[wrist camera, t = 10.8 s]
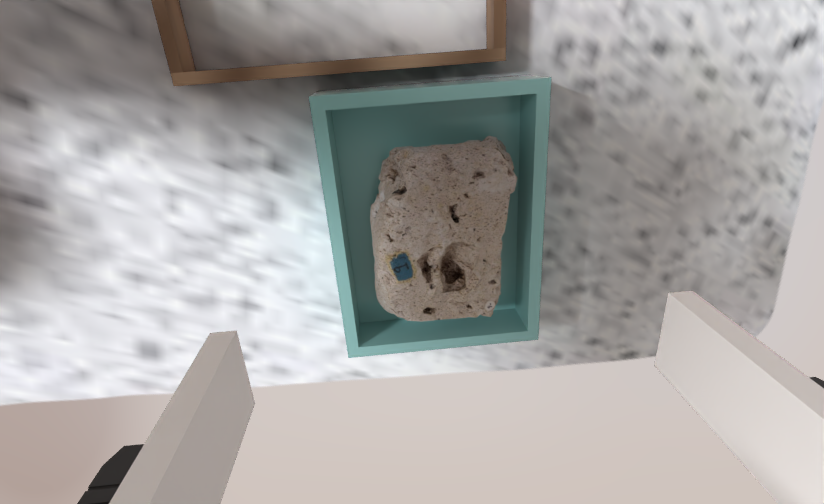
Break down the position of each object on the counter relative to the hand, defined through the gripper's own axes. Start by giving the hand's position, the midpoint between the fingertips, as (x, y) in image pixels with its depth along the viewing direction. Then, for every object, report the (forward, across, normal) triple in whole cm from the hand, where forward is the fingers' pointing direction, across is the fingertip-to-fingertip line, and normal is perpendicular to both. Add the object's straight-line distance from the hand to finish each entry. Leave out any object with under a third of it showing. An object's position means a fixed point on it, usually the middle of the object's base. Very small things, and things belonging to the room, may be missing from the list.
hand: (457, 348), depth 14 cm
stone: (+19, +2, -3) cm, 19 cm away
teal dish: (+19, +1, -2) cm, 19 cm away
